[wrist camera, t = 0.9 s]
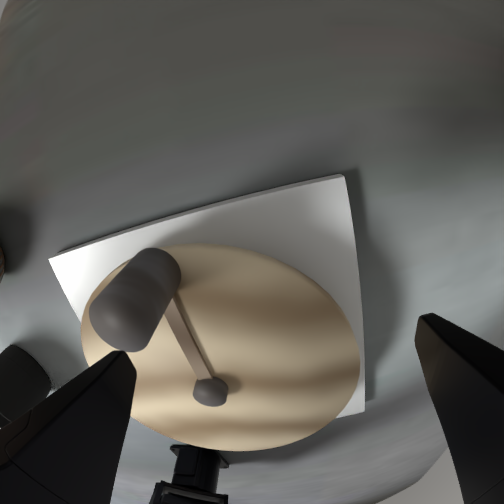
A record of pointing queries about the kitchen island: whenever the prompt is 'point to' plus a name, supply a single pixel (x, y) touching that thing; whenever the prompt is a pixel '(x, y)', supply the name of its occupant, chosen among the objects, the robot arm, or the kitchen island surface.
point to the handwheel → (224, 345)
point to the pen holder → (20, 384)
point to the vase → (1, 264)
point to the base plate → (246, 246)
